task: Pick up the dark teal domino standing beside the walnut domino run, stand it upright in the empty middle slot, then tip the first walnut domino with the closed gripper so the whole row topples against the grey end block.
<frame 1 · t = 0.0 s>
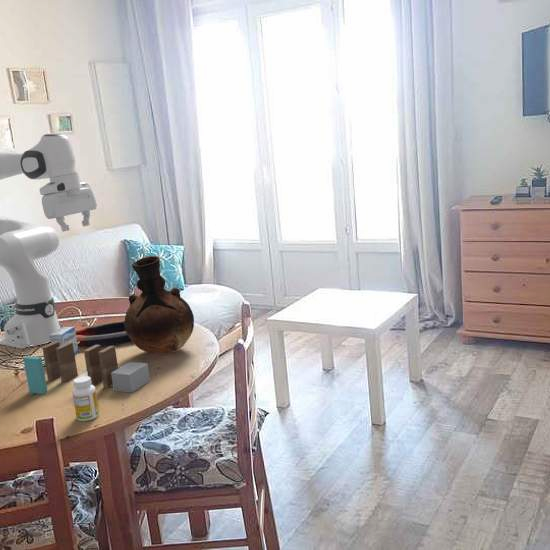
hand: (76, 228, 201), 39 cm above the table, tool pointing down, fingers open, 8 cm apart
domino 2: (69, 378, 180), on the table
medicine box: (66, 357, 200), on the table
domino 5: (111, 383, 174), on the table
ceramic vessel: (163, 352, 196), on the table
end block: (132, 385, 171), on the table
domino 4: (97, 381, 176), on the table
domino 1: (56, 377, 182), on the table
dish: (111, 341, 213), on the table
supplement bottle: (88, 417, 154), on the table
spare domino: (38, 392, 172), on the table
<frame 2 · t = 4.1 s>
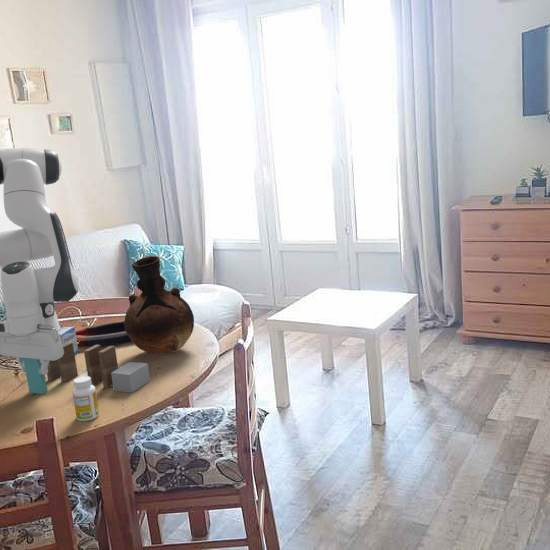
hand: (35, 372, 171), 6 cm above the table, tool pointing down, fingers closed on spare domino, 5 cm apart
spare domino: (38, 392, 172), on the table, touching gripper
everything else where it was.
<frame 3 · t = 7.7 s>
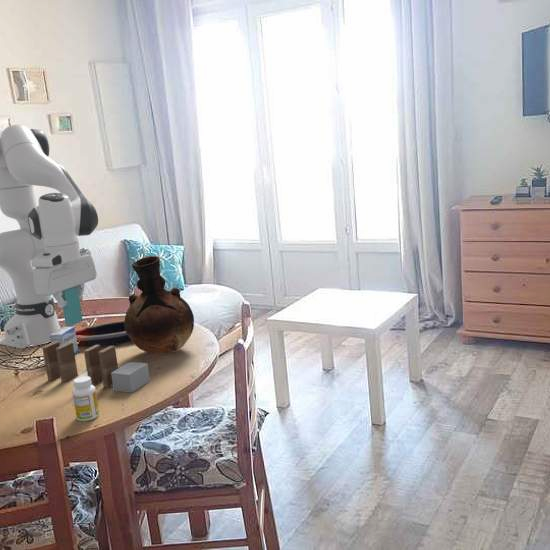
hand: (71, 303, 173), 22 cm above the table, tool pointing down, fingers closed on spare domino, 5 cm apart
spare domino: (74, 323, 174), point 17 cm above the table, touching gripper
everything else where it was.
when the fingers open (7 cm above the table, at t = 11.6 s): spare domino stays where it is, on the table.
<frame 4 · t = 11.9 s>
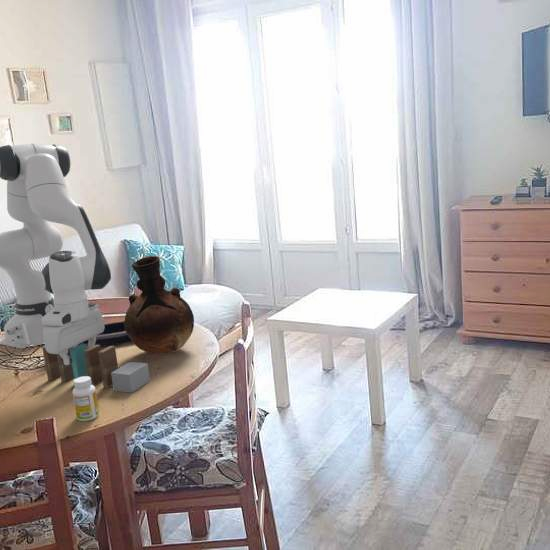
hand: (79, 358, 177), 7 cm above the table, tool pointing down, fingers open, 8 cm apart
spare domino: (83, 380, 178), on the table
everything else where it was.
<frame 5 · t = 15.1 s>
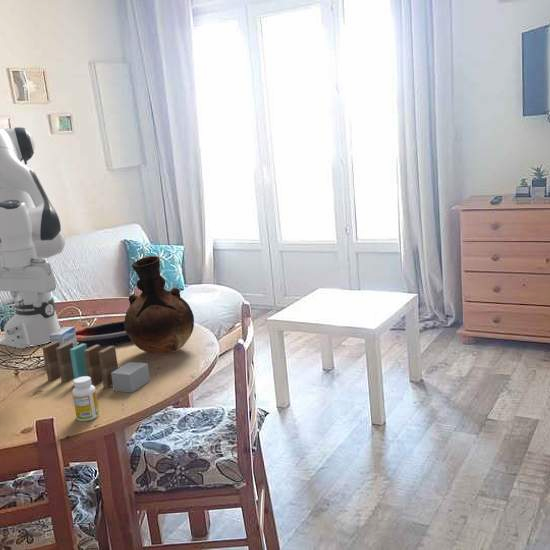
hand: (28, 306, 180), 21 cm above the table, tool pointing down, fingers open, 5 cm apart
nothing on the table moved.
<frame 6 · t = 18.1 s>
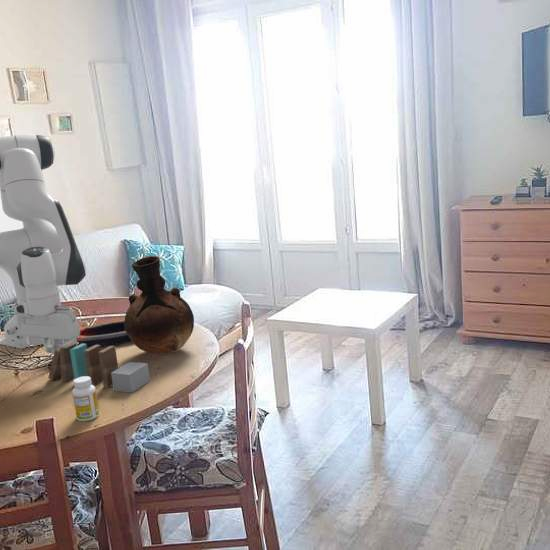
hand: (52, 351, 180), 8 cm above the table, tool pointing down, fingers closed
domino 2: (69, 378, 180), on the table, tilted 8°
domino 1: (56, 376, 182), on the table, tilted 27°
everything else where it was.
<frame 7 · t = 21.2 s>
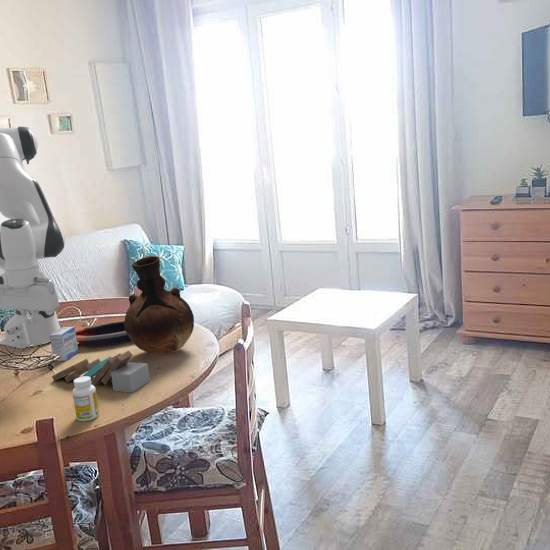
hand: (31, 323, 182), 16 cm above the table, tool pointing down, fingers closed
domino 2: (71, 376, 180), point 1 cm above the table, tilted 63°, touching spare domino
domino 5: (108, 379, 174), point 1 cm above the table, tilted 42°, touching domino 4, end block
domino 4: (98, 380, 176), point 1 cm above the table, tilted 46°, touching domino 5, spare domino
domino 1: (59, 375, 182), point 1 cm above the table, tilted 66°
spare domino: (85, 378, 178), point 1 cm above the table, tilted 56°, touching domino 2, domino 4
everything else where it was.
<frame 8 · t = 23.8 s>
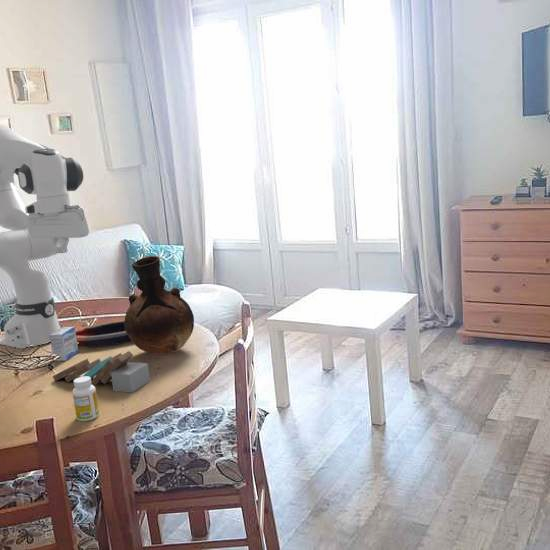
hand: (61, 252, 186), 34 cm above the table, tool pointing down, fingers closed
domino 2: (72, 376, 180), point 1 cm above the table, tilted 63°, touching domino 1, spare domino
domino 1: (59, 375, 181), point 1 cm above the table, tilted 66°, touching domino 2
everything else where it was.
at the end: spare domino tilted 56°; domino 5 tilted 45° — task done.
